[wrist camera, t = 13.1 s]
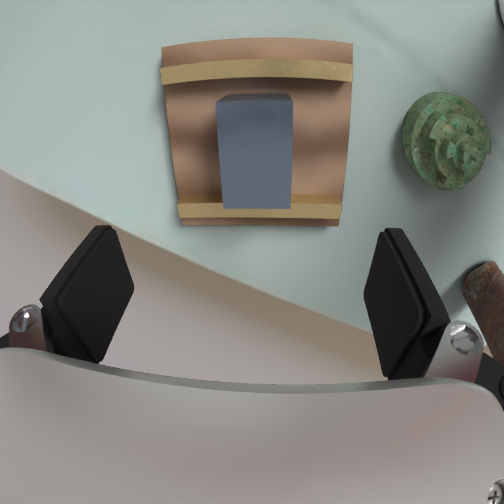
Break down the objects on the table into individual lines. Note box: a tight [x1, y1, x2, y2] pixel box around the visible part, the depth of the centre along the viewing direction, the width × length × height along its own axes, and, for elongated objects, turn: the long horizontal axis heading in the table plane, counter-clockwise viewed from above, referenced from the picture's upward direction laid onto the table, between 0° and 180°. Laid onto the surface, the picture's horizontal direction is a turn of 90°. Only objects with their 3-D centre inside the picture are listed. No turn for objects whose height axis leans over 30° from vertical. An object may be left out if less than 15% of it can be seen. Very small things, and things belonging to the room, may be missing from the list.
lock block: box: [215, 93, 293, 209], centre depth 22 cm, size 8×5×6 cm, turn 2°
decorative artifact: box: [402, 92, 491, 190], centre depth 21 cm, size 10×7×10 cm
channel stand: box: [160, 38, 353, 226], centre depth 24 cm, size 18×16×4 cm
